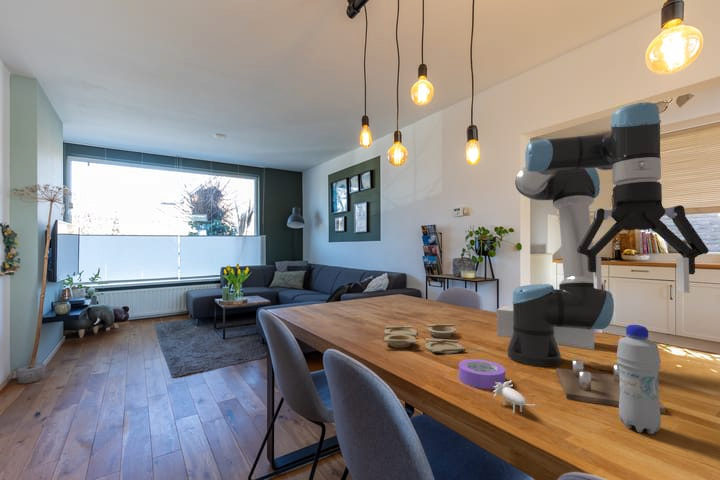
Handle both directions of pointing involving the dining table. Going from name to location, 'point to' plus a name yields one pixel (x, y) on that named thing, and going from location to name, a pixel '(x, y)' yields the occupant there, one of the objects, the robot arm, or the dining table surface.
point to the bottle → (639, 380)
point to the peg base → (593, 388)
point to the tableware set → (404, 338)
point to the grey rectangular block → (561, 334)
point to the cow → (510, 395)
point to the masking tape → (481, 373)
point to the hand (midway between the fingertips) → (638, 290)
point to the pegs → (589, 374)
